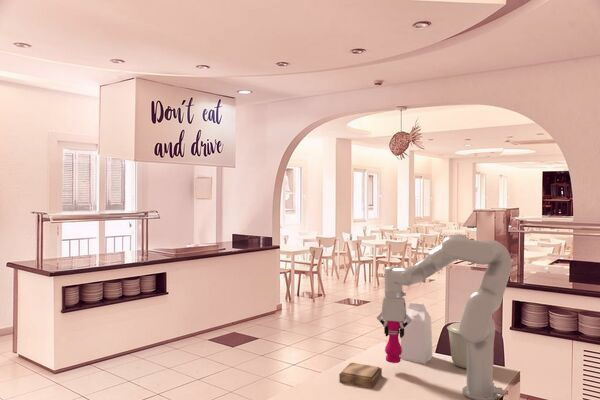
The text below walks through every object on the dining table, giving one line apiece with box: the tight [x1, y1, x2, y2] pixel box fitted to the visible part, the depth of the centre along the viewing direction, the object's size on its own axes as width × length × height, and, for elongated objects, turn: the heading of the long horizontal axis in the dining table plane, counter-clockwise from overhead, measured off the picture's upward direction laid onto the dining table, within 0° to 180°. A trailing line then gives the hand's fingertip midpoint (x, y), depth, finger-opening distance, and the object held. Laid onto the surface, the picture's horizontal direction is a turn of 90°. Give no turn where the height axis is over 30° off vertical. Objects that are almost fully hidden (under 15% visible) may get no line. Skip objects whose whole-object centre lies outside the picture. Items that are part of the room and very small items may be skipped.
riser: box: [338, 362, 383, 389], centre depth 195 cm, size 14×14×4 cm
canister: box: [446, 321, 467, 370], centre depth 212 cm, size 18×18×21 cm
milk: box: [400, 301, 433, 365], centre depth 222 cm, size 12×12×26 cm
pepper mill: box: [384, 321, 402, 364], centre depth 203 cm, size 7×7×20 cm
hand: (394, 336), depth 203 cm, fingers closed on pepper mill, 5 cm apart
